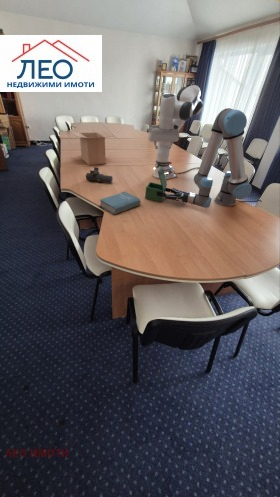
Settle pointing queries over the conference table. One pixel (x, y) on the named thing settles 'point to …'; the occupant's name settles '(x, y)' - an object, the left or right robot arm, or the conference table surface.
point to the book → (119, 202)
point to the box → (92, 146)
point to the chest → (154, 191)
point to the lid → (162, 176)
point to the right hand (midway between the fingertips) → (159, 191)
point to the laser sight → (98, 176)
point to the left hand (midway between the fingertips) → (162, 148)
